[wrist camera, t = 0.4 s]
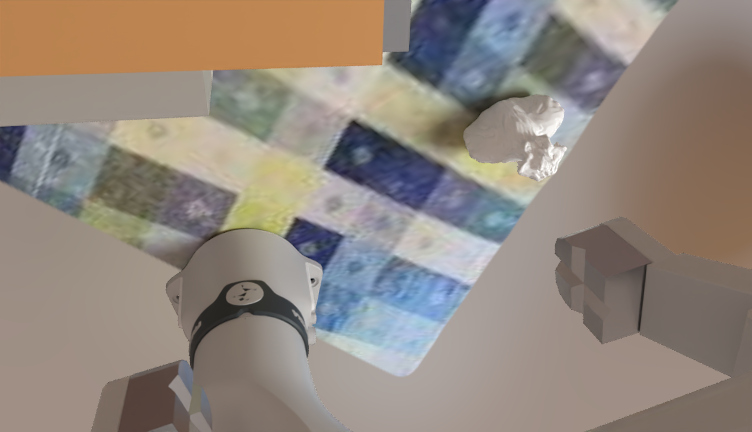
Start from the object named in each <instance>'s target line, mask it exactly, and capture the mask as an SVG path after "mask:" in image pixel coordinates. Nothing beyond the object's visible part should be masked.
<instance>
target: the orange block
mask: <svg viewBox="0 0 752 432" xmlns="http://www.w3.org/2000/svg"><path fill="white" fill-rule="evenodd" d="M383 23H384V0H0V77H7V76H39V75H72V74H105V73H137V72H170V71H202V70H235V69H268V68H300V67H333V66H366V65H382V54H383Z"/></svg>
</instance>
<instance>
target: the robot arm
mask: <svg viewBox="0 0 752 432" xmlns="http://www.w3.org/2000/svg"><path fill="white" fill-rule="evenodd" d="M555 254H556V255H557V256H558V257H559V259H560V260H561V261H560V263H559V265H558V266H557V268H556V270H555V274H556V283H557V286H558V289H559V292H560V295H561V296H562V298H563V300H564V301H565V303H566V304H567V305H568V306H569V307H570V308H571V310H574V311H577V312H579V313H582V314H583V318H584V319H583V323H584V324H585V326H586V327H587V328H588V329H589V330H590V331H591V332H592V333H593V335H594V336H595V337H596V338H597V339H598V340H599V341H600V342H601V343H602V344H604V343H608V342H611V341H614V340H617V339H620V338H623V337H627V336H630V335H633V334H636V333H639V332H640V335H642V336H644V337H646V338H648V339H651V340H653V341H655V342H657V343H659V344H661V345H664V346H666V347H668V348H670V349H672V350H674V351H676V352H679V353H681V354H683V355H685V356H687V357H689V358H692V359H694V360H696V361H698V362H700V363H702V364H704V365H706V366H709V367H711V368H713V369H715V370H717V371H719V372H721V373H724V374H726V375H728V376H730V377H731V378H730V379H727V380H724V381H721V382H719V383H716V384H713V385H711V386H708V387H705V388H702V389H700V390H697V391H694V392H692V393H689V394H686V395H684V396H681V397H678V398H675V399H673V400H670V401H667V402H665V403H662V404H659V405H656V406H654V407H651V408H648V409H645V410H643V411H640V412H637V413H635V414H632V415H629V416H627V417H624V418H621V419H618V420H616V421H613V422H610V423H608V424H605V425H602V426H599V427H597V428H594V429H591V430H588V431H586V432H752V269H747V268H743V267H739V266H735V265H731V264H727V263H722V262H718V261H714V260H710V259H705V258H702V257H697V256H693V255H689V254H685V253H682V254H679V255H676V254H674V253H673V252H672V251H670V250H669V249H668V248H666V247H665V246H663V245H662V244H661V243H659V242H658V241H656V240H655V239H654V238H653V237H651V236H650V235H649V234H647V233H646V232H645V231H643V230H642V229H640V228H639V227H638V226H636V225H635V224H633V223H632V222H631V221H630V220H628V219H627V218H623V217H619V218H616V219H613V220H610V221H607V222H604V223H601V224H599V225H597V226H594V227H591V228H588V229H585V230H582V231H578V232H576V233H573V234H569V235H566V236H564V237H561V238H558V239H557V241H556V244H555ZM311 278H314V279H313V280H310V279H311ZM321 279H322V266H321V265H320V264H319V263H317V262H316V261H314V260H312V259H309V258H307V257H304V256H303V255H301V254H300V253H299V252H298V251H297V250H296V249H295V247H294V246H293V245H292V244H290V243H289V242H288V241H287V240H285V239H284V238H282V237H280V236H278V235H276V234H274V233H271V232H268V231H263V230H257V229H240V230H234V231H229V232H226V233H223V234H220V235H218V236H216V237H214V238H212V239H210V240H209V241H207V242H206V243H204V244H203V245H202V246H201V247H200V248H199V249H198V250H197V251H196V252H195V253H194V255H193V256H192V258H191V259H190V261H189V263H188V264H187V266H186V267H185V268H184V270H182V271H181V272H179V273H178V274H176V275H175V276H174V277H172V278H171V279H170V280H169V281H168V283H167V284H166V292H167V295H168V297H169V299H170V301H171V303H172V305H173V307H174V309H175V311H176V313H177V315H178V325H179V327H180V328H183V331H184V333H185V335H186V337H187V339H188V341H189V342H190V343H189V356H190V366H191V367H190V366H189V364H188V363H187V361H184V360H179V361H176V362H173V363H169V364H166V365H163V366H159V367H156V368H153V369H149V370H146V371H143V372H139V373H136V374H133V375H131V376H127V377H124V378H121V379H118V380H114V381H111V382H108V383H107V384H106V385H105V387H104V388H103V390H102V393H101V397H100V401H99V404H98V408H97V412H96V416H95V419H94V423H93V426H92V430H91V432H353V431H351V430H350V429H348V428H347V427H346V426H344V425H343V424H342V423H341V422H339V421H338V420H337V419H336V418H335V417H333V415H332V414H331V413H330V412H329V411H328V410H327V409H326V408H325V406H324V405H323V404H322V402H321V401H320V399H319V397H318V395H317V392H316V389H315V386H314V383H313V380H312V377H311V373H310V369H309V365H308V360H307V357H308V352H309V345H314V344H315V341H316V330H315V327H312V324H315V323H316V313H315V308H316V304H317V299H318V294H319V289H320V284H321ZM178 295H179V296H178Z"/></svg>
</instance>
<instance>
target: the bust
mask: <svg viewBox="0 0 752 432" xmlns="http://www.w3.org/2000/svg"><path fill="white" fill-rule="evenodd" d="M563 117H564V109H563V108H562V107H561V106H560V104H559V103H558V102H556V101H554V100H553V99H552V98H551V97H549V96H546V95H537V94H535V95H531V96H527V97H523V98H517V97H513V98H509V99H507V100H502V101H499V102H497V103H495V104H494V105H492V106H491V107H490V108H488V109H486V110H484V111H483V112H482V113H481V114H480V115H479V117H478V118H477V120H476V121H474V122H473V123H472V124H471V125H470V126H468V127H467V128H466V129H465V131H464V133H463V137H464V142H465V145H466V148H467V149H468V151H469V155H470V157H471V158H473V159H476V160H477V161H478V162H482V163H499V162H502V163H507V162H517V163H518V166H517V167H518V170H517V172H518V174H519V175H522V176H526V177H529V178H531V179H534V180H536V181H541V180H542V179H543V178H545V177H547V176H549V175H553V174H555V173H556V171H557V167H558V163H559V162H560V160H561V159H562V157H563V155H564V151H565V150H566V149H567V148H566V147H565V146H561V145H560V144H559V143H558V142H556V143H555V145H554V146H553V145H552V144H551V142H550V139H549V138H550V137H551V136H552V135H553V134H554V133H555V132H556V130H557V128H558V127H559V126H560V124H561V123H562V121H563Z"/></svg>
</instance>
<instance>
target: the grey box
mask: <svg viewBox="0 0 752 432" xmlns="http://www.w3.org/2000/svg"><path fill="white" fill-rule="evenodd" d="M410 16H411V0H384V23H383V52H399V51H409V34H410Z"/></svg>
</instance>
